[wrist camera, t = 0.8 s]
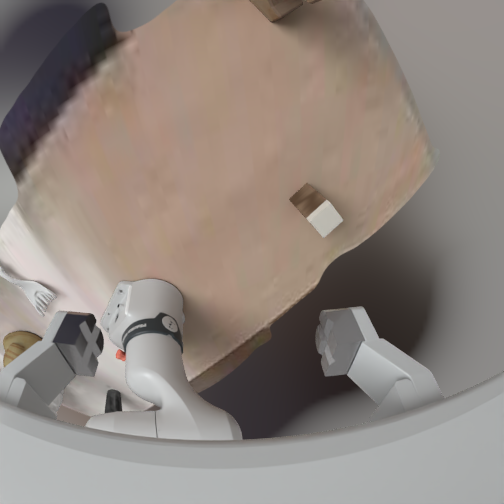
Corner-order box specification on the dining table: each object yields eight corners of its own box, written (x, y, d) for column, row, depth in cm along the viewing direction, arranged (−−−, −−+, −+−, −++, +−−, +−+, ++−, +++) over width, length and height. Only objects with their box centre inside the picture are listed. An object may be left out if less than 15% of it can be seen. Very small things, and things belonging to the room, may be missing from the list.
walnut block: (302, 214, 61) (323, 238, 53) (288, 199, 58) (309, 221, 50) (319, 198, 60) (343, 220, 51) (307, 183, 57) (330, 203, 49)
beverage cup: (128, 395, 81) (131, 448, 65) (113, 399, 81) (114, 450, 65) (114, 385, 77) (114, 441, 61) (99, 390, 77) (98, 444, 61)
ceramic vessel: (-4, 321, 53) (-30, 395, 33) (51, 327, 59) (33, 410, 39) (16, 359, 62) (1, 427, 41) (67, 365, 68) (59, 439, 48)
